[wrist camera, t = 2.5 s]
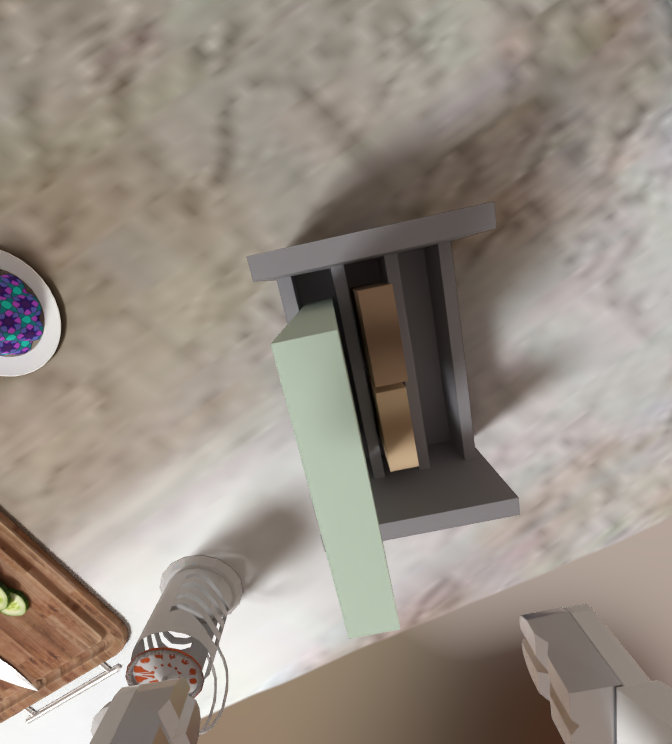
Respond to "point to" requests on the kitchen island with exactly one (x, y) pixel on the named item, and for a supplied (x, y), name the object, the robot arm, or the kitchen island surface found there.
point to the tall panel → (336, 466)
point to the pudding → (25, 318)
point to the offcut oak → (394, 424)
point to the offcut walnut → (380, 332)
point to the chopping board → (47, 627)
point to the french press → (186, 627)
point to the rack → (406, 362)
